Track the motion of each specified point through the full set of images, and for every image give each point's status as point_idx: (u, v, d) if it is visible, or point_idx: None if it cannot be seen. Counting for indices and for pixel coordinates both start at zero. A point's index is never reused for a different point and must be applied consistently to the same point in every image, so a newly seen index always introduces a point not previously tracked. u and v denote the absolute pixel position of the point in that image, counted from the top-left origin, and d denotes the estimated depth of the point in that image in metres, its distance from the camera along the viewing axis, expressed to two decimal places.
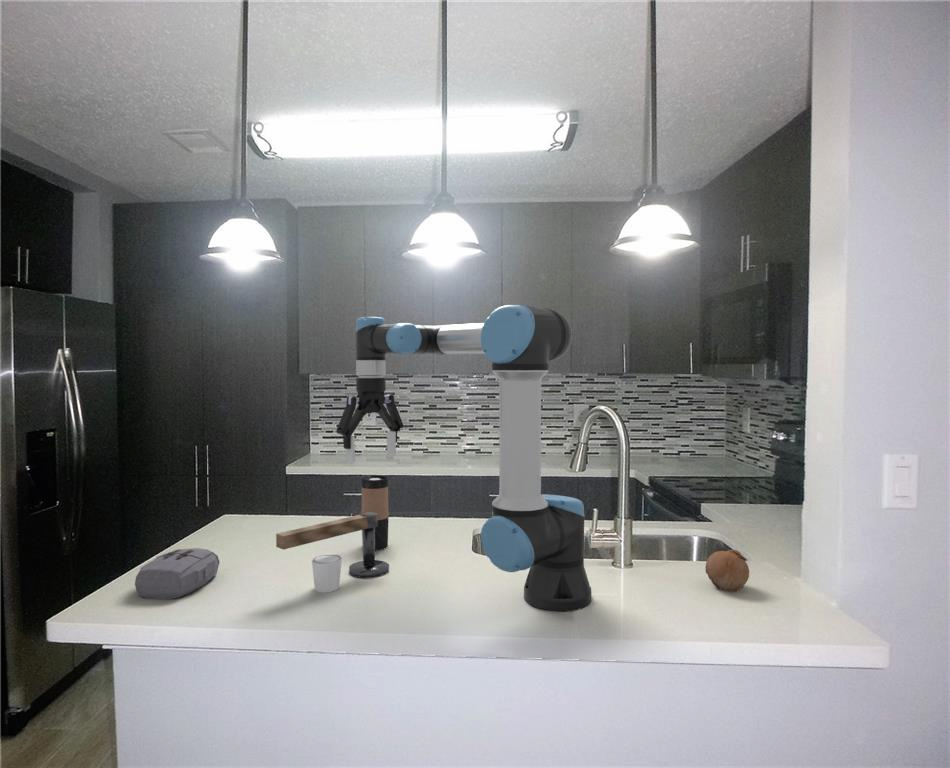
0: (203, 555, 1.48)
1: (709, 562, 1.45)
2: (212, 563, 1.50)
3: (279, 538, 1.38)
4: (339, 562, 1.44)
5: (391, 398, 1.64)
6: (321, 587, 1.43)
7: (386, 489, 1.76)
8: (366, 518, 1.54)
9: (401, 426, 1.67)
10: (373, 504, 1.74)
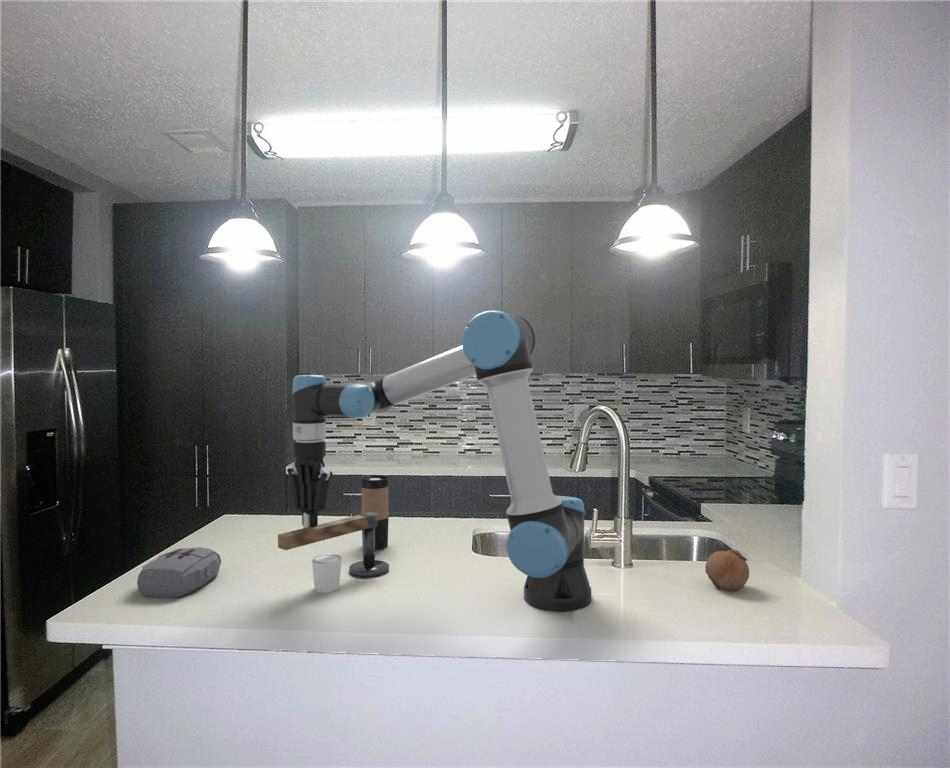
0: (205, 554, 1.49)
1: (709, 562, 1.45)
2: (214, 562, 1.50)
3: (281, 539, 1.38)
4: (339, 562, 1.44)
5: None
6: (321, 587, 1.43)
7: (386, 489, 1.76)
8: (366, 518, 1.54)
9: None
10: (373, 504, 1.74)
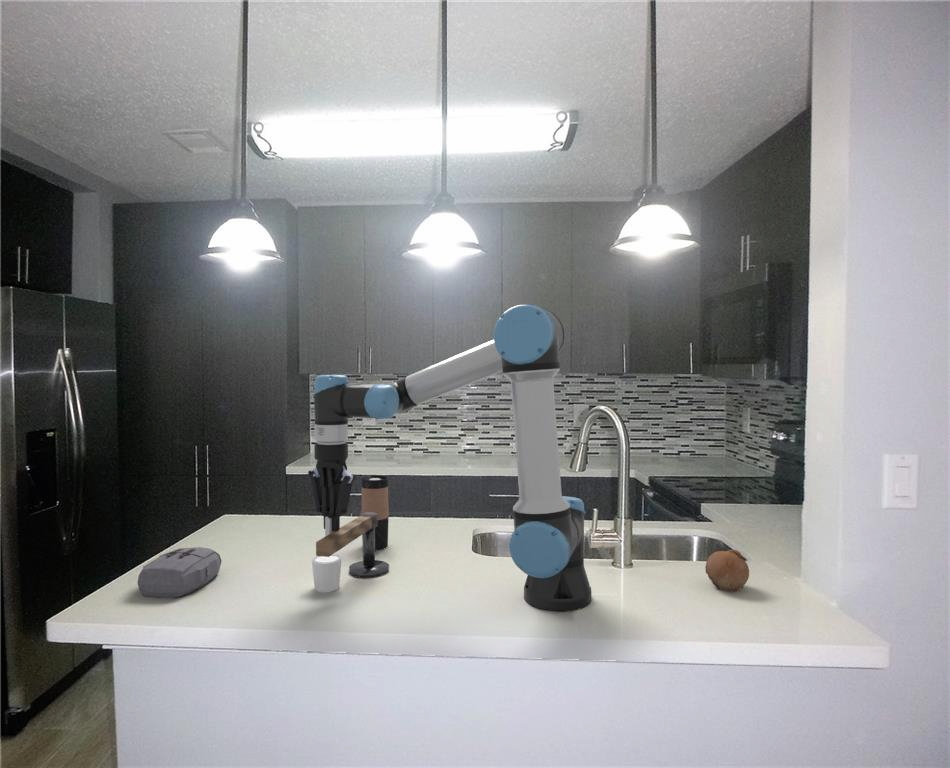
0: (206, 554, 1.49)
1: (709, 562, 1.45)
2: (214, 562, 1.50)
3: (321, 546, 1.33)
4: (339, 562, 1.44)
5: None
6: (321, 587, 1.43)
7: (386, 489, 1.76)
8: (371, 518, 1.55)
9: None
10: (373, 504, 1.74)
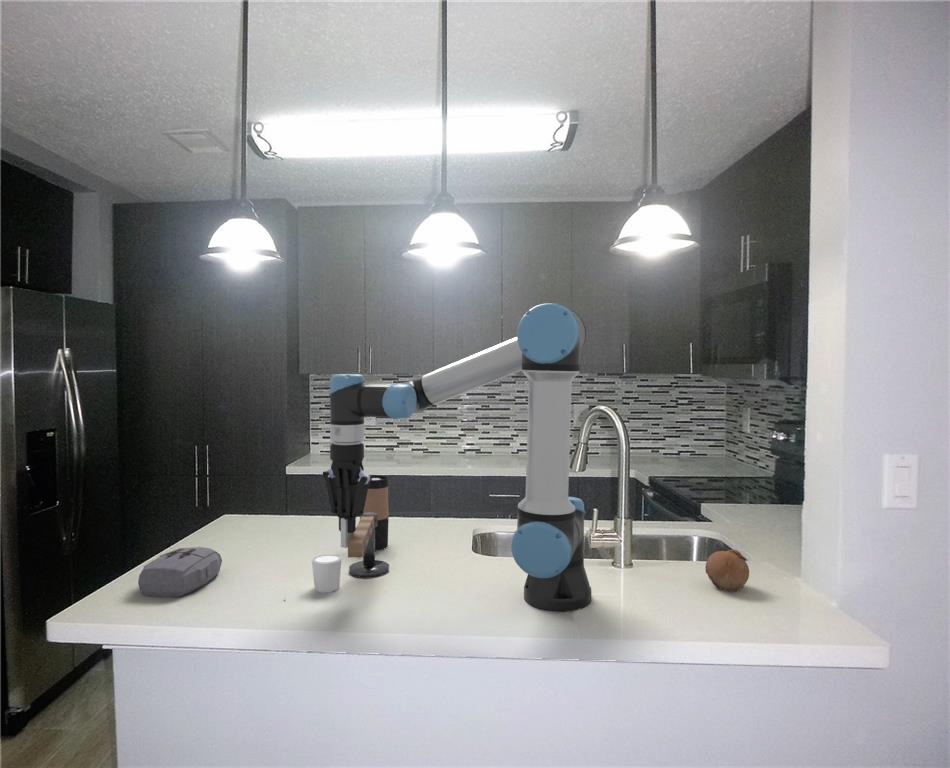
0: (206, 554, 1.49)
1: (709, 562, 1.45)
2: (215, 562, 1.51)
3: (354, 547, 1.32)
4: (339, 562, 1.44)
5: None
6: (321, 587, 1.43)
7: (386, 489, 1.76)
8: (373, 517, 1.55)
9: None
10: (373, 504, 1.74)
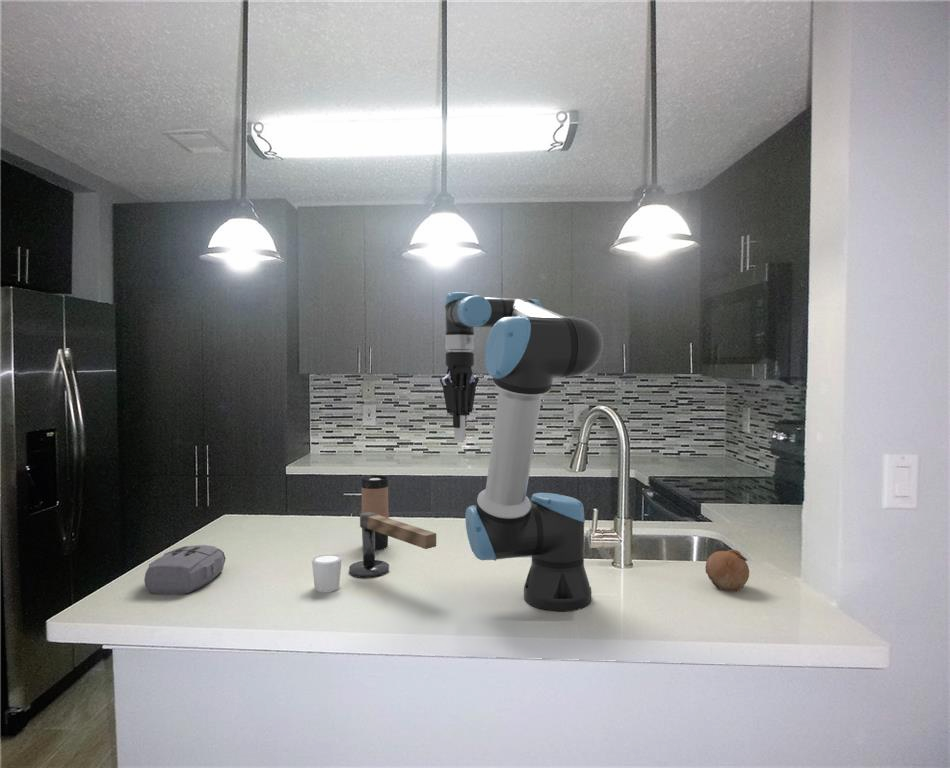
0: (211, 552, 1.51)
1: (709, 562, 1.45)
2: (219, 559, 1.52)
3: (430, 538, 1.39)
4: (339, 562, 1.44)
5: None
6: (321, 587, 1.43)
7: (386, 489, 1.76)
8: None
9: None
10: (373, 504, 1.74)
